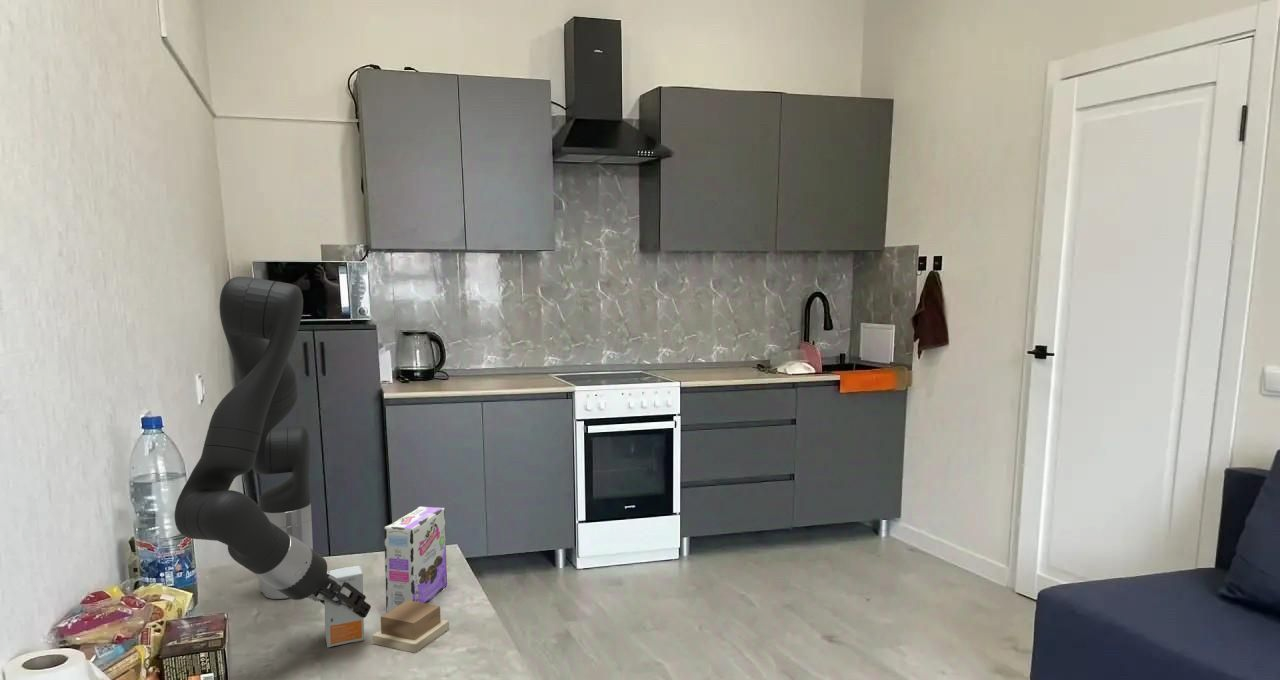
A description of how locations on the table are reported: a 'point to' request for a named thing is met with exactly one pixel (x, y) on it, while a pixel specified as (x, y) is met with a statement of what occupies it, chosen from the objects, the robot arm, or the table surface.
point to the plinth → (408, 642)
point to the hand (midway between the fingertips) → (351, 607)
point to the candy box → (415, 557)
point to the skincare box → (344, 611)
